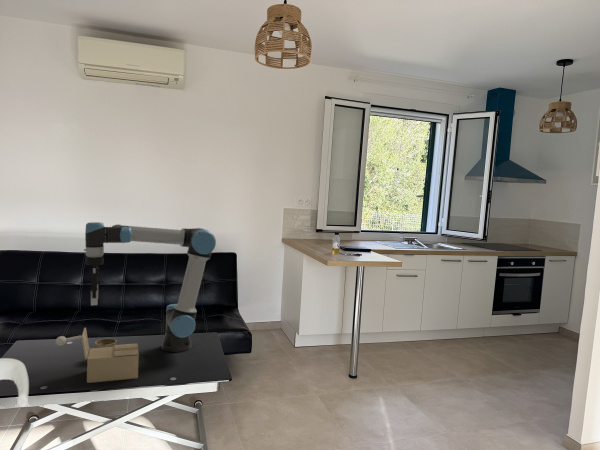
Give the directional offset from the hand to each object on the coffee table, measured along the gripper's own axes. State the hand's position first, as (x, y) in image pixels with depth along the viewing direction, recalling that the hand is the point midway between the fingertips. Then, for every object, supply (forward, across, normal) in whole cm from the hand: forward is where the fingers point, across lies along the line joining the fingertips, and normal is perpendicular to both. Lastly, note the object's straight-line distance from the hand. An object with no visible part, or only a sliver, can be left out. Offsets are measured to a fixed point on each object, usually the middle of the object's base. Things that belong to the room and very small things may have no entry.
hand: (94, 301), depth 202 cm
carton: (+29, +16, +8) cm, 34 cm away
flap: (+14, +15, -3) cm, 21 cm away
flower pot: (+29, -5, +4) cm, 30 cm away
